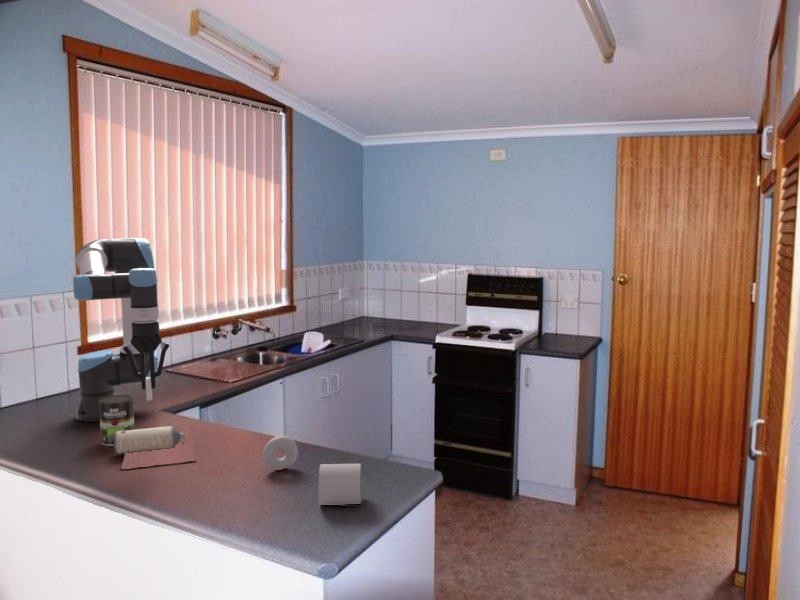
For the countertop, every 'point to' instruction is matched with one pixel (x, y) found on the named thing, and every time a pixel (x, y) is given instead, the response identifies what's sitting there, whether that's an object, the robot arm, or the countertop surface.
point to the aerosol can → (146, 439)
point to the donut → (276, 444)
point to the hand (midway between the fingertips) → (149, 399)
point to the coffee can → (115, 416)
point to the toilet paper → (340, 484)
